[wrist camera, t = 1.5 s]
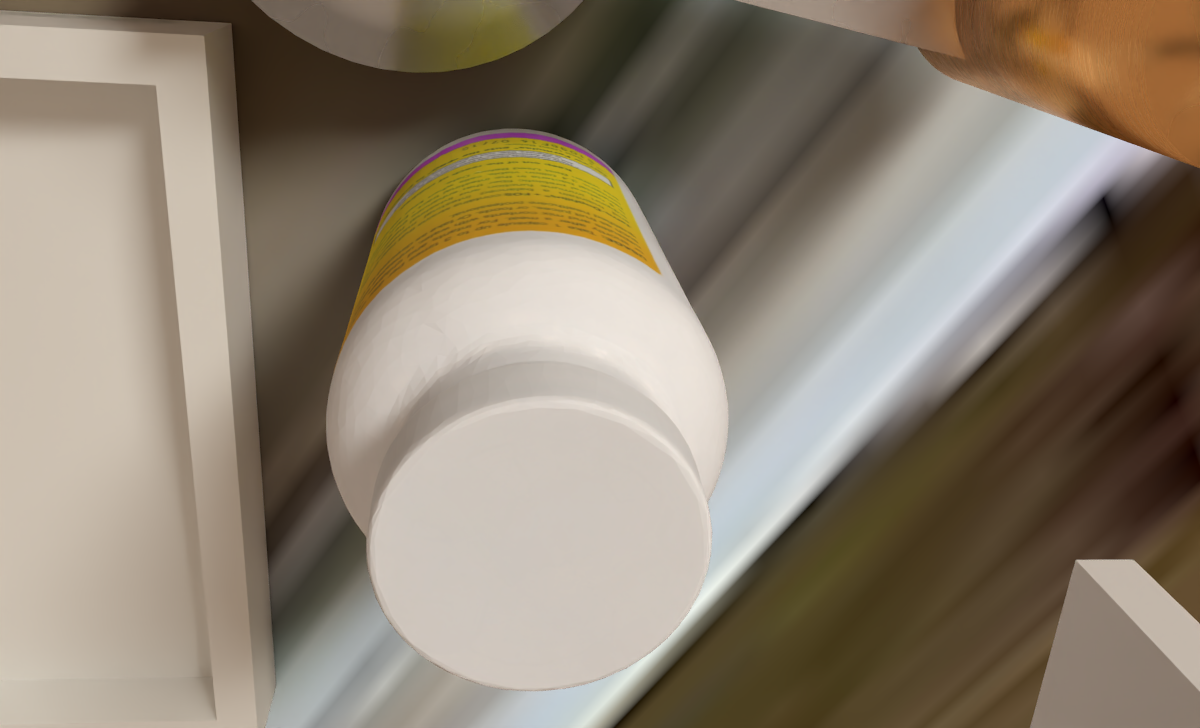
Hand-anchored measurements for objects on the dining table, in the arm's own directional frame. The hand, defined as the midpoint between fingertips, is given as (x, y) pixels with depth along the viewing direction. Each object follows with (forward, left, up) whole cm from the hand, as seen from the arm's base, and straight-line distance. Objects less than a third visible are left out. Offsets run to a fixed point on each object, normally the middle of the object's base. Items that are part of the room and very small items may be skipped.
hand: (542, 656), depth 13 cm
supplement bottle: (0, 0, -15) cm, 15 cm away
